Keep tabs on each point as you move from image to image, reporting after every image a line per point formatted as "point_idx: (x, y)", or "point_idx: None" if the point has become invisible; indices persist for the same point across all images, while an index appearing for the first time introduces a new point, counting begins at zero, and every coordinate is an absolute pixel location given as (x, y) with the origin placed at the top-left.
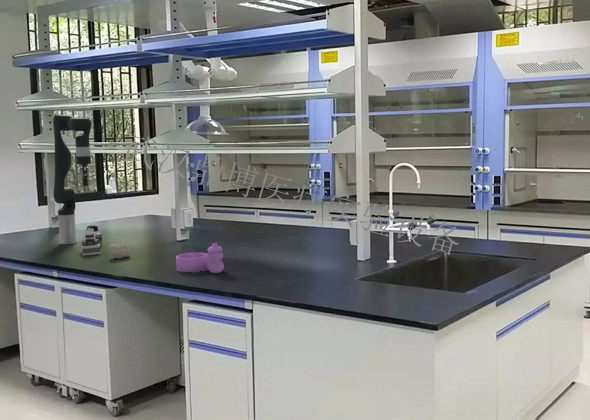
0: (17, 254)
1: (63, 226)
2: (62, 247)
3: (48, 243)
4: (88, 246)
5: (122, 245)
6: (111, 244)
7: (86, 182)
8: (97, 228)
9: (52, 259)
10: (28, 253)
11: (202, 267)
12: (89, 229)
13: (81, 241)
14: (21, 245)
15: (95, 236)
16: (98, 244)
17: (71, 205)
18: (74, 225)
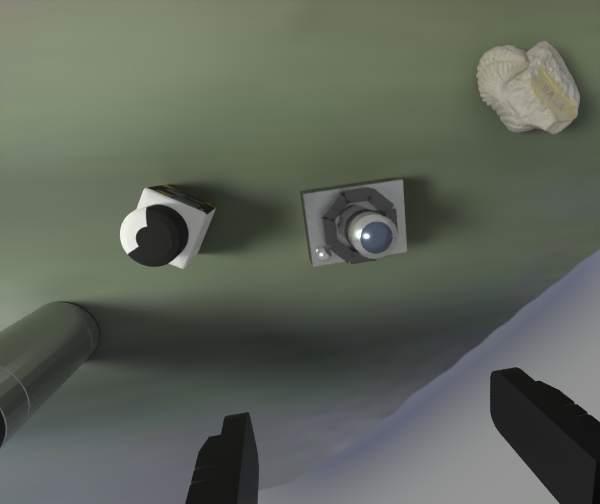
0: (266, 458)
1: (50, 390)
2: (166, 340)
3: (44, 407)
4: (404, 226)
5: (556, 65)
6: (563, 116)
7: (580, 417)
8: (163, 208)
9: (415, 335)
10: (260, 430)
11: None
12: (391, 234)
13: (357, 262)
14: (68, 487)
15: (206, 213)
16: (388, 186)
17: None
18: (15, 342)
